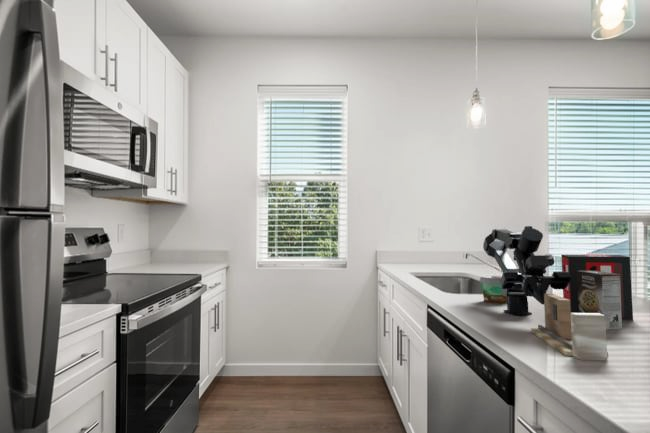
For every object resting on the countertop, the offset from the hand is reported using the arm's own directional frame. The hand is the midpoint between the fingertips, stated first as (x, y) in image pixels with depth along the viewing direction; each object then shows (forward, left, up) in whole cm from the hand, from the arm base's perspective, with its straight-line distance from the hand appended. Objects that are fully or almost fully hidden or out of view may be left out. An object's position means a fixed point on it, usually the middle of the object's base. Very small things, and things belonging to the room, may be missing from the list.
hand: (544, 303), depth 105 cm
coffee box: (0, +19, -8) cm, 21 cm away
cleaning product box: (-10, +29, -8) cm, 32 cm away
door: (+7, -3, -6) cm, 10 cm away
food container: (-37, +13, -8) cm, 40 cm away
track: (+12, -4, -8) cm, 15 cm away
